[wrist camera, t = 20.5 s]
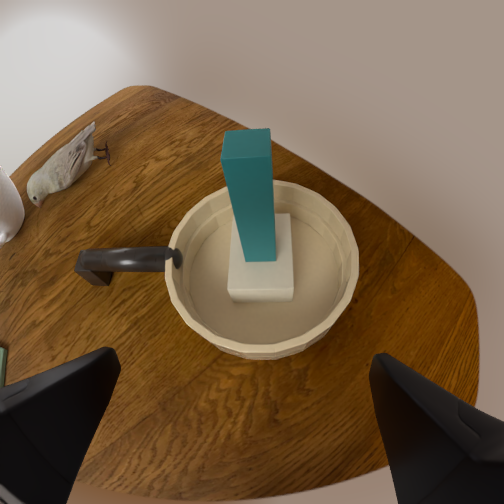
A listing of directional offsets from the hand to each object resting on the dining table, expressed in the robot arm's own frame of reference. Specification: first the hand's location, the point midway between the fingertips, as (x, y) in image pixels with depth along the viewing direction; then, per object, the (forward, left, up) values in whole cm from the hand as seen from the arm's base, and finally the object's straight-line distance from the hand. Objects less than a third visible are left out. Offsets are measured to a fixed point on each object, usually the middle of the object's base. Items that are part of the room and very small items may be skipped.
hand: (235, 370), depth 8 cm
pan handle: (+10, +12, -14) cm, 21 cm away
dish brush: (+10, 0, -13) cm, 17 cm away
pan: (+10, 0, -14) cm, 17 cm away
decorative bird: (+26, +30, -14) cm, 42 cm away
